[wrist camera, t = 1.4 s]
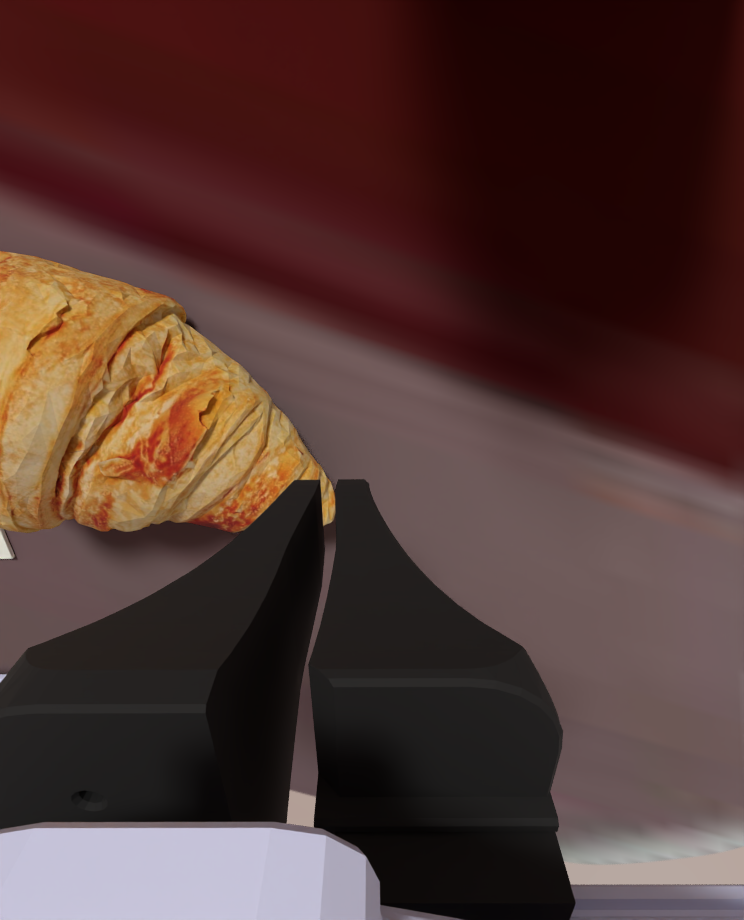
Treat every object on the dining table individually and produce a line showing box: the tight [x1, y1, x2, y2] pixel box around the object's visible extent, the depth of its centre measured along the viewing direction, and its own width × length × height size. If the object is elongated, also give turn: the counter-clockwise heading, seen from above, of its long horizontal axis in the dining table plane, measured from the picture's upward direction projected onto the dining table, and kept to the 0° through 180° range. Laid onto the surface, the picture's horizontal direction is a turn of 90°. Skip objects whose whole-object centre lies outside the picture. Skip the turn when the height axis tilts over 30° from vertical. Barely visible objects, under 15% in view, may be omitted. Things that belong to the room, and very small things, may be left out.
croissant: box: [0, 251, 336, 533], centre depth 17 cm, size 21×10×8 cm, turn 63°
